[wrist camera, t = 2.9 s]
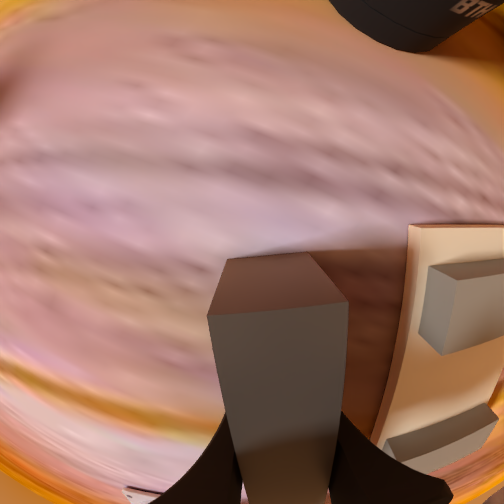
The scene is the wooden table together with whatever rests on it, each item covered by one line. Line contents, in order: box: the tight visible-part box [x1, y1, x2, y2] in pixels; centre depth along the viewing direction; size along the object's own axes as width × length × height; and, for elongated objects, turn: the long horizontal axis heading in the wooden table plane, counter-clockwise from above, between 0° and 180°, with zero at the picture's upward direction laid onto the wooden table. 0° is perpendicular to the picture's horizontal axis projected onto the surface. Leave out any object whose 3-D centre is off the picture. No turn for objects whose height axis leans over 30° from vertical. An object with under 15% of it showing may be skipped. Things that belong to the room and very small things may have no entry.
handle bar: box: [207, 252, 349, 504], centre depth 10 cm, size 14×3×5 cm, turn 5°
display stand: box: [370, 224, 504, 474], centre depth 10 cm, size 16×9×3 cm, turn 2°
